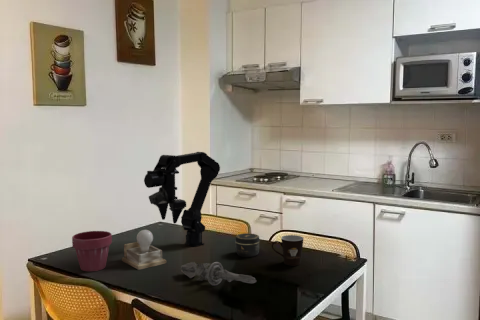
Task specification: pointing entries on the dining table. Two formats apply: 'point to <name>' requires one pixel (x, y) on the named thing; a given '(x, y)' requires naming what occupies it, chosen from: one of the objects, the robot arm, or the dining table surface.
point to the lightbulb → (144, 240)
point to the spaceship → (213, 273)
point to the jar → (247, 245)
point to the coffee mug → (291, 249)
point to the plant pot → (92, 249)
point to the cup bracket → (142, 256)
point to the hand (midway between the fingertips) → (169, 221)
